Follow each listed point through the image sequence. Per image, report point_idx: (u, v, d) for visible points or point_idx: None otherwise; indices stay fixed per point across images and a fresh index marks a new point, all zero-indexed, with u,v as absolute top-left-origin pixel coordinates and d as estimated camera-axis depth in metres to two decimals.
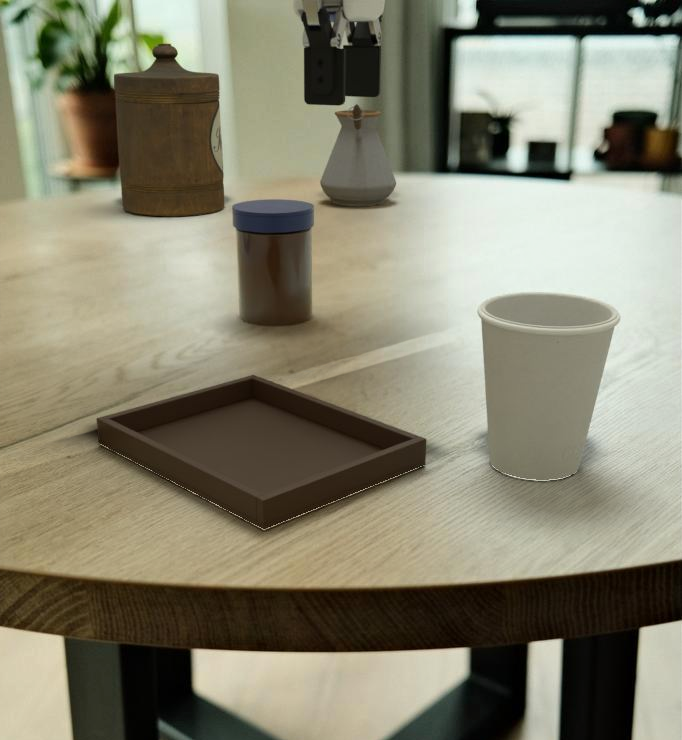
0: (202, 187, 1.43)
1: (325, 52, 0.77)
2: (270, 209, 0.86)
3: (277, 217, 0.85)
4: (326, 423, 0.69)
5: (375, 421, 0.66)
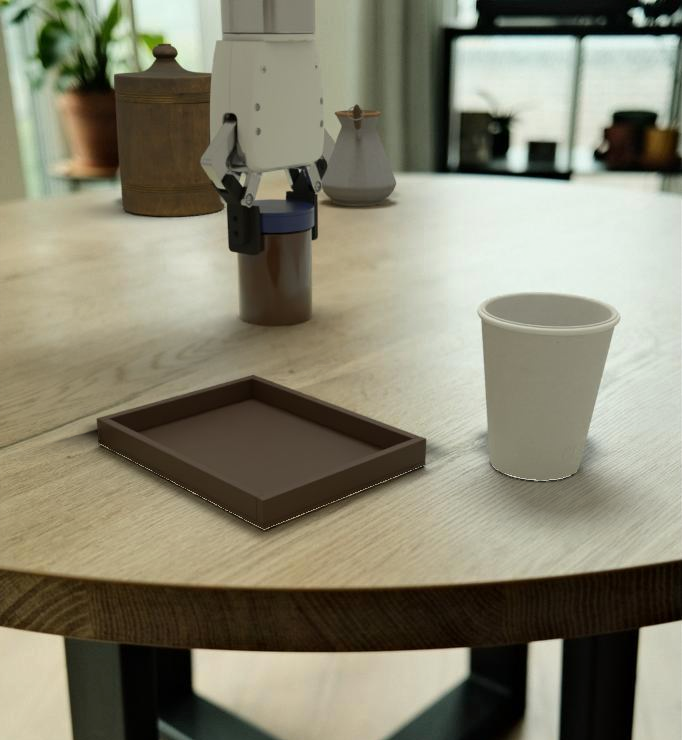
0: (202, 187, 1.43)
1: (238, 209, 0.84)
2: (270, 209, 0.86)
3: (277, 217, 0.85)
4: (326, 423, 0.69)
5: (375, 421, 0.66)
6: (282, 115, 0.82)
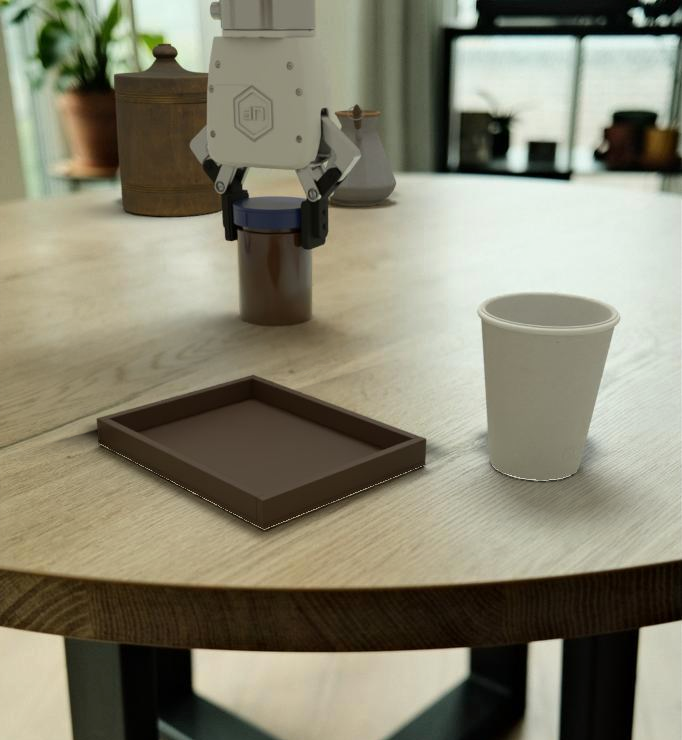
0: (202, 187, 1.43)
1: (325, 202, 0.86)
2: (294, 202, 0.88)
3: None
4: (326, 423, 0.69)
5: (375, 421, 0.66)
6: None
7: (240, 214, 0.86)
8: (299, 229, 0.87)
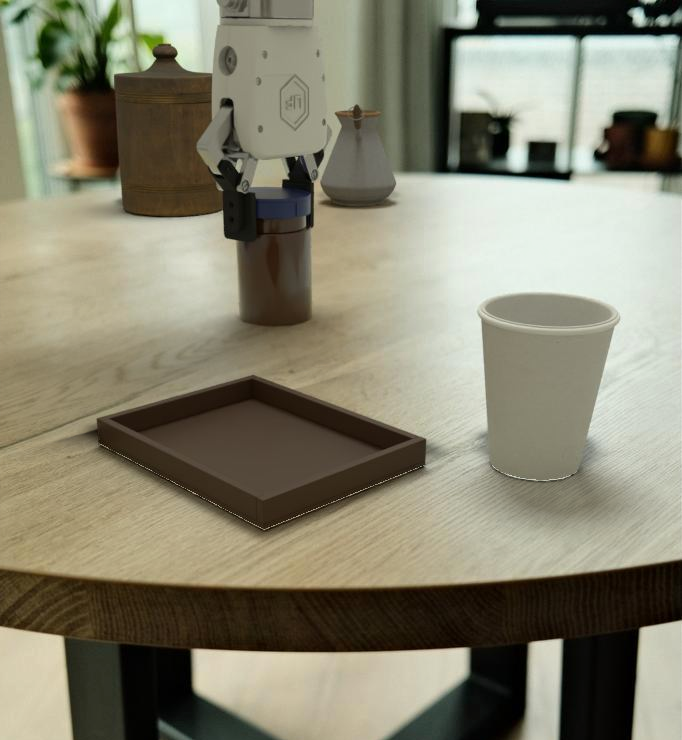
0: (202, 187, 1.43)
1: None
2: (272, 189, 0.89)
3: None
4: (326, 423, 0.69)
5: (375, 421, 0.66)
6: None
7: (288, 206, 0.85)
8: (298, 229, 0.87)
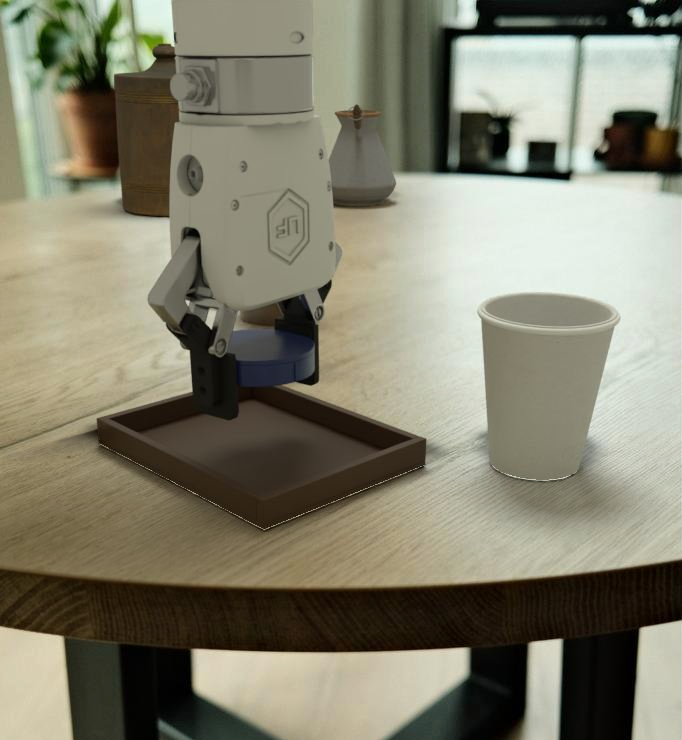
0: None
1: None
2: (261, 336, 0.64)
3: None
4: (326, 423, 0.69)
5: (375, 421, 0.66)
6: None
7: (283, 369, 0.60)
8: None
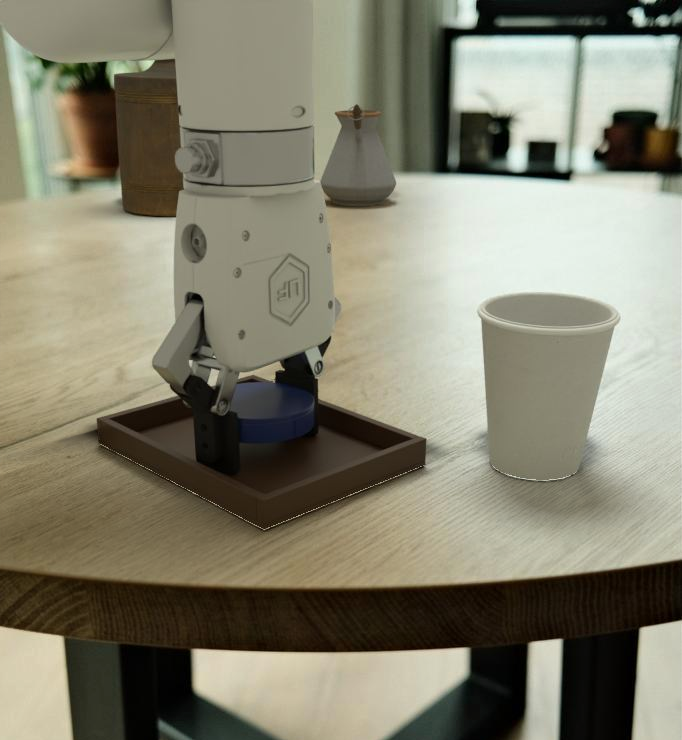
0: None
1: None
2: (262, 390, 0.66)
3: None
4: (326, 423, 0.69)
5: (375, 421, 0.66)
6: None
7: (284, 426, 0.62)
8: None
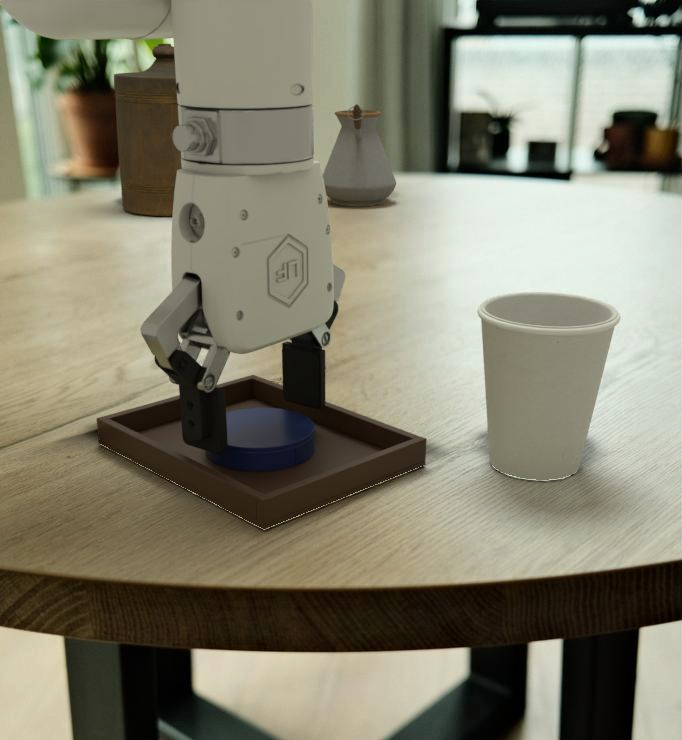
0: None
1: None
2: (263, 417, 0.66)
3: None
4: (326, 423, 0.69)
5: (375, 421, 0.66)
6: None
7: (285, 454, 0.62)
8: None
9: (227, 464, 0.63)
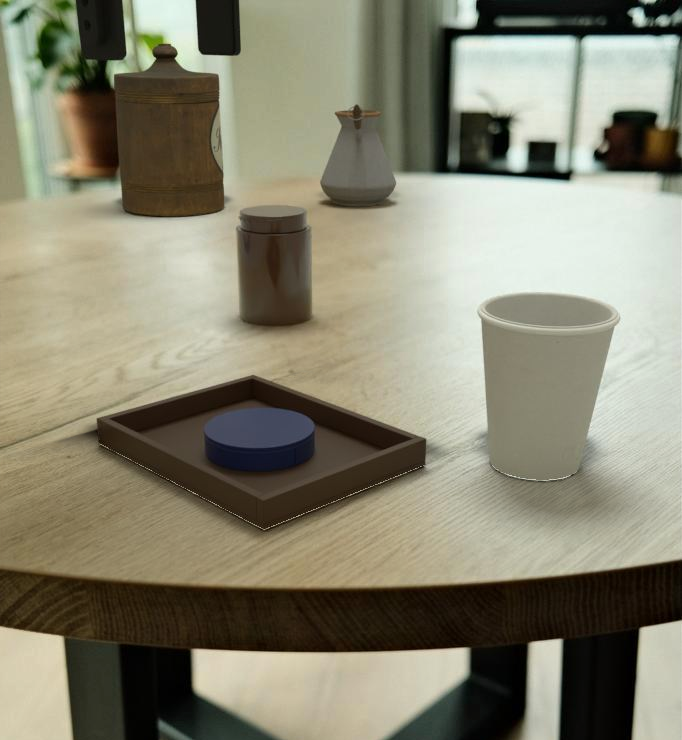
0: (202, 187, 1.43)
1: None
2: (263, 417, 0.66)
3: None
4: (326, 423, 0.69)
5: (375, 421, 0.66)
6: None
7: (285, 454, 0.62)
8: (298, 229, 0.87)
9: (227, 464, 0.63)
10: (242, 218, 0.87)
